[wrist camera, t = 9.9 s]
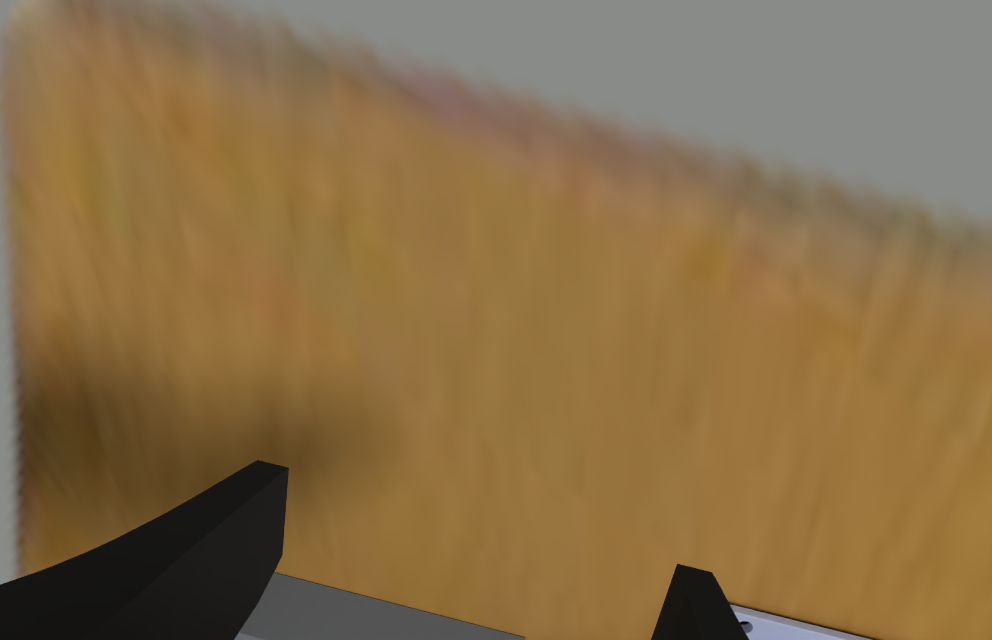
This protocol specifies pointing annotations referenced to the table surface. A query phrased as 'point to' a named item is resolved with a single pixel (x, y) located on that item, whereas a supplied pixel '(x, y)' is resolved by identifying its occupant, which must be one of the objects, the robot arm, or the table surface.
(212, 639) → the robot arm
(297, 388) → the table surface
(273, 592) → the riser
